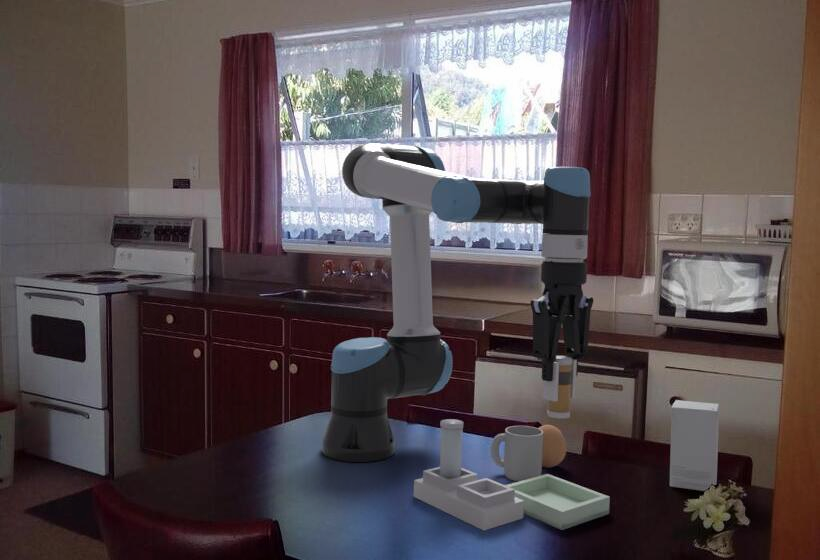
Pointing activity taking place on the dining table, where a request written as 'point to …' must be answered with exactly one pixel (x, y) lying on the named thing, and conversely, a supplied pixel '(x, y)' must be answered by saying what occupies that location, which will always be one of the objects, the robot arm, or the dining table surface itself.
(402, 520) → the dining table surface
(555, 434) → the egg
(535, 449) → the cup
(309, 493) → the dining table surface
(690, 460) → the skincare box
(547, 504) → the parts tray
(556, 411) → the cylinder
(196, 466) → the dining table surface
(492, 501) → the block
